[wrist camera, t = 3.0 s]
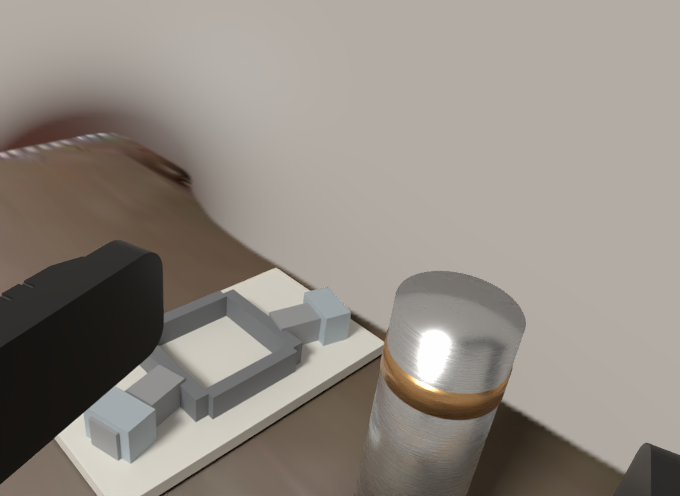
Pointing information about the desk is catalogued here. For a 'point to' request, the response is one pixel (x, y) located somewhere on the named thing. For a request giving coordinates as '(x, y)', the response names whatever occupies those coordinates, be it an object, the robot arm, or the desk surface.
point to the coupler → (438, 385)
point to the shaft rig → (216, 383)
